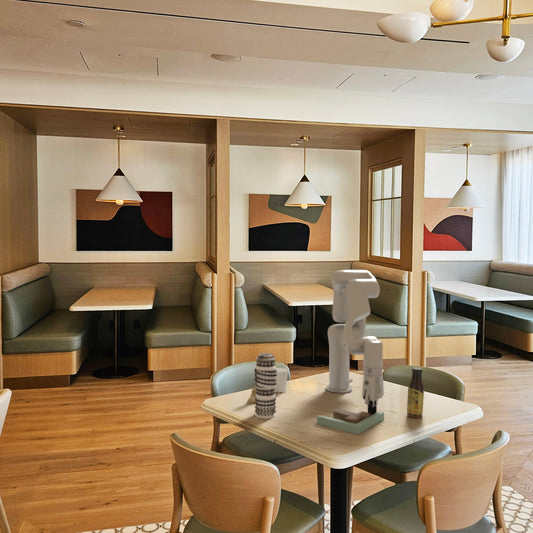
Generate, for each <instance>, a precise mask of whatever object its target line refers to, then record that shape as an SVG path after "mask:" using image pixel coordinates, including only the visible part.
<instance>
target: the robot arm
mask: <svg viewBox="0 0 533 533" xmlns="http://www.w3.org/2000/svg"><path fill="white" fill-rule="evenodd" d="M331 274H332V275H331V279H330V281H331V287H332V291H333V299H332V319H333V321H334V322H336V324H332V325H330V326H329V327H328V329H327V338H328V345H329V346H328V347H329V363H328V364H329V365H328V368H329V370H328V372H329V373H328V384H327V385H325V390H326V391H328V392H331V393H335V394H336V393H339V394H346V393H349V392H352V391H353V387H352V386H351V385H350V384H351V383H352V382H353V379H352V378H350V355H352V356H358V355H359V356H360V355H361V356H362V355H363V361H362V362H363V365H362V366H363V368H362V369H363V370H362V372H363V373H362V374H363V378H362V379H363V380H362V391H361V392H362V394H361V395H362V399H363V401H364V404H365V405H366V406H367V413H371V415H373V414H375V413H377V412H378V411H377V410H378V409H377V407H378V401H379V400H380V399H382V398H383V397H384V393H385V391H384V390H385V388H384V387H385V386H384V377H383V376H384V375H383V363H384V361H383V359H384V358H383V357H384V354H383V353H384V350H383V348H384V344H383V342H382V341H381V340H380V339H379V338H377V336H374V335H373V336H372V335H371V336H370V335H369V336H366V335H365V332H366V324H367V323H366V322H367V317H369V316H370V315H371V307H370V301H369V299H377V298H378V297H379V295H380V293H381V288H380V285H379V282H378V280H377V279H376V277H375V276H374V275H373V274H372V273H371V272H370V271H368V270H366V269H338V270H334V272H332V273H331Z"/></svg>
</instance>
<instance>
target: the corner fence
mask: <svg viewBox="0 0 533 533" xmlns="http://www.w3.org/2000/svg"><path fill="white" fill-rule="evenodd" d="M384 420H385V411H381V410H379V411H377V413H375V414H373V415H371V416H370V417H368V418H366V419H364V420H362V421H360V422H359V423H357V424H354V423H350V422H346V421H342V420H338V419H334V418H333V417H330V416H326V415H321V414H318V415H317V416H316V425H320V426H323V427H327V428H331V429H335V430H339V431H342V432H347V433H351V434H355V435H359V434H362V433H363V432H365V431H367V430H368V429H370V428H372V427H374V426H375V425H377V424H379V423H381V422H382V421H384Z"/></svg>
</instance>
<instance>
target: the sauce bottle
mask: <svg viewBox="0 0 533 533" xmlns="http://www.w3.org/2000/svg"><path fill="white" fill-rule="evenodd" d="M411 371H412V372H411V373H412V374H411V380H410V383H409V385H408V388H407V401H406V402H407V403H406V415H407V416H408V417H410V418H413V417H414V419H419V417H420V418H422V417H423V413H424V411H423V410H424V398H425V396H424V395H425V384H424V382H423V381H422V380H423V379H422V377H423V368H421V367H418V366H414V367H412V369H411Z"/></svg>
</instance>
